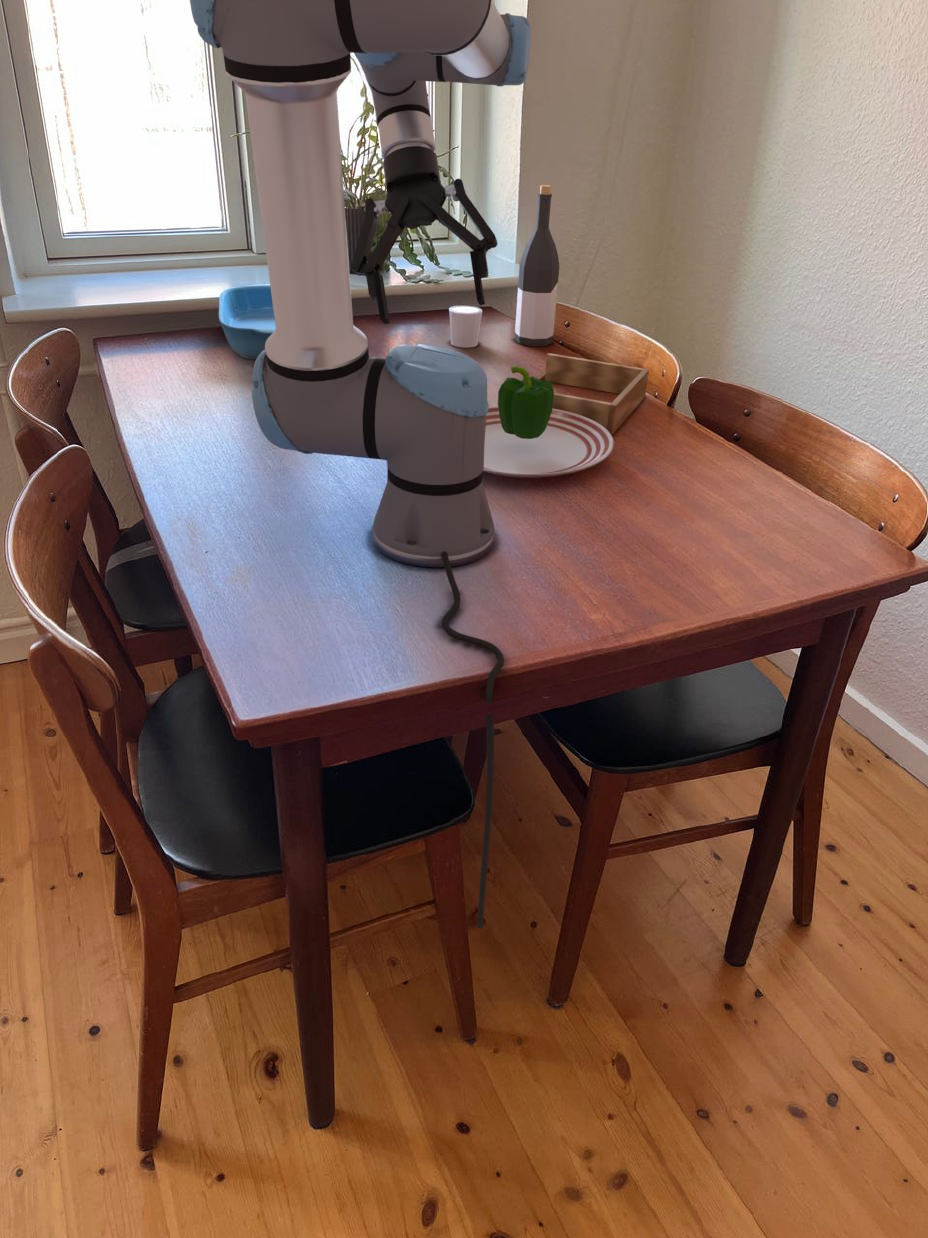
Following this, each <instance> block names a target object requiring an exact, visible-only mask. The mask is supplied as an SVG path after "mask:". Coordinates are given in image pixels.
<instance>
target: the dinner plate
mask: <svg viewBox="0 0 928 1238" xmlns="http://www.w3.org/2000/svg"><path fill="white" fill-rule="evenodd" d="M614 445H615V444H614V438H613V435H611V434H610V433H609V432H608V430H607V429H605V428H604V427H603V426H602V425H600V424H598V423H597V422H595V421H593V420H591V419H589V418H586V417H584V416H581V415H578V414H575V413H571V412H567V411H563V410H559V409H553V408H552V412H551V415H550V418H549V422H548V424H547V427H546V429H545V431H544V432H543V433H542V435H540V436H539V437H538V438H533V439H522V438H519V437H517V436H516V435H513V434H508V433H505V431H504V430H503V428H502V425H501V420H500V415H499V408H498V405H489V409H488V413H487V414H486V429H485V447H484V468H483V473H488V474H492V475H496V476H502V477H507V478H516V479H541V478H550V477H559V476H564V475H569V474H570V475H571V474H574V473H578V472H581V471H584V470H587V469H589V468H592V467H594V466H596V465H598V464H600V463H601V462H603V461H604V460H606V459H607V458H608V457H609V456H610V455H611V454H612V451H613V449H614Z"/></svg>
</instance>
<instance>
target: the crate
mask: <svg viewBox="0 0 928 1238" xmlns="http://www.w3.org/2000/svg"><path fill="white" fill-rule="evenodd" d="M649 375H650V369H648V368H643V367H636V366H631V365H624V364H618V363H611V362H605V361H599V360H594V359H586V358H582V357H581V358H580V357H575V356H568V355H562V354H556V353H551V352H548V353H547V354H546V360H545V372H540V374H538V375H537V376H535V377H536V378H537V379H539V380H541V381H551V382H552V384H553V383H555V384H560V385H564V386H565V385H566V386H572V387H576V388H583V389H588V390H595V391H600V392H606V393H612V394H618V395H617V397H616V398H615V399H614V400H613V401H612V402H608V401H604V400H603V401H602V400H597V399H591V398H586V397H579V396H574V395H569V394H563V393H557V392H554V399H553V407H552V408H553V409H559V410H563V411H567V412H571V413H575V414H578V415H581V416H584V417H586V418H589V419H591V420H593V421H595V422H597V423H598V424H600V425H602V426H603V427H604V428H605V429H607V430H608V432H609V433H610V434H611V436H613V435H614V434H615V432H617V430H618V429H619V428H620V427H621V425H622V424H623V423H624V422H625V421H626V419H627V418H628V417H629V416H630V415H631V414H632V413H633V411H634V410H635V409H636V408H637V407H638V406H639V404H641V402H642V401H643V400H644V399H645V398H646V395H647V388H648V381H649Z"/></svg>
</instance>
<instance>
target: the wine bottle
mask: <svg viewBox="0 0 928 1238" xmlns="http://www.w3.org/2000/svg"><path fill="white" fill-rule="evenodd" d="M551 192H552V186H551V185H549V184H540V186H539V192H538V194H537V197H538V200H537V211H536V213H537V214H536V227H535V229H534V230H533V232H532V234H531V236H530V237H529V239H528V241H527V243H525V247H524V249H523V251H522V254H521V258H520V261H519V269H518V279H517V280H518V281H517V295H516V309H515V310H516V311H515V326H514V341H515V342H517V343H518V345H523V346H529V347H546V346H549V345H551V344H552V343H553V340H554V331H555V321H556V311H557V299H558V290H559V289H558V286H559V278H560V277H559V276H560V260H559V254H558V250H557V246H556V243H555V240H554V238H553V236H552V233H551V230H550V218H551V207H552V206H551V204H552V197H553V194H552V193H551Z"/></svg>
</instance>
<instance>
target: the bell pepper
mask: <svg viewBox="0 0 928 1238" xmlns="http://www.w3.org/2000/svg"><path fill="white" fill-rule="evenodd" d="M510 371H511V373H512V374H517V373H518V374H520V375H521V376H522V379H518V378H515V377H506V378H505V380H504V381H503V382H502V383H501V385H500V387H499V389H498V391H497V392H498V393H497V398H498V399H497V406H498V408H499V415H500V420H501V425H502V428H503V430H504V431H505V433H508V434H513V435H516V436H517V437H519V438H522V439H533V438H538V437H539V436H540V435H542V433H543V432H544V431H545V429H546V427H547V424H548V422H549V418H550V415H551V412H552V407H553V399H554V393H555V392H554V391H555V390H554V385H553V382H551V381H541V380H539V379H537V378H536V377H537V376H534V375H532V376H530V372H529V371H528V370H527V369H526V368H524V367H522V366H519V365H515V366H511V367H510Z"/></svg>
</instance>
